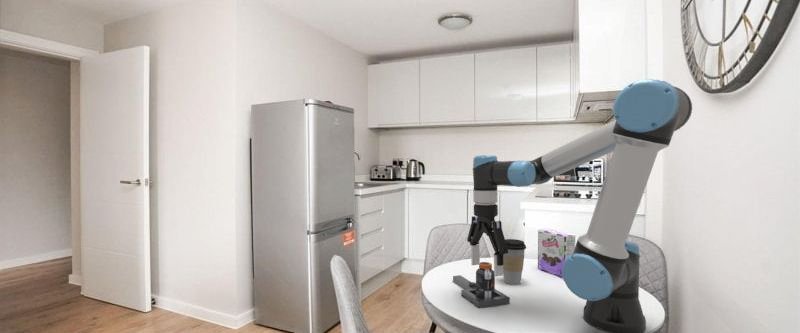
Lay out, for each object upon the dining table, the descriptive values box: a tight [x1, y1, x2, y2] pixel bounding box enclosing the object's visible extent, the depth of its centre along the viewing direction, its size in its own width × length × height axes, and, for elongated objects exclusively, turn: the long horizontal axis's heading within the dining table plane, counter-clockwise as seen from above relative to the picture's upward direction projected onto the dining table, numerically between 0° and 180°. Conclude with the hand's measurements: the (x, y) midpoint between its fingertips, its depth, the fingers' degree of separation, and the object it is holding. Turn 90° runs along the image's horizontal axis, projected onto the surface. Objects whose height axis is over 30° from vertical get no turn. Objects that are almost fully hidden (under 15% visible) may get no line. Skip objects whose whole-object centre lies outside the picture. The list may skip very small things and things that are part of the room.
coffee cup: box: [502, 238, 527, 286], centre depth 139 cm, size 9×9×15 cm
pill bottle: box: [475, 261, 496, 299], centre depth 122 cm, size 6×6×11 cm
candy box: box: [537, 228, 576, 279], centre depth 150 cm, size 14×6×16 cm, turn 25°
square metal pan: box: [452, 274, 511, 309], centre depth 128 cm, size 25×11×3 cm, turn 19°
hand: (486, 270), depth 121 cm, fingers open, 13 cm apart
